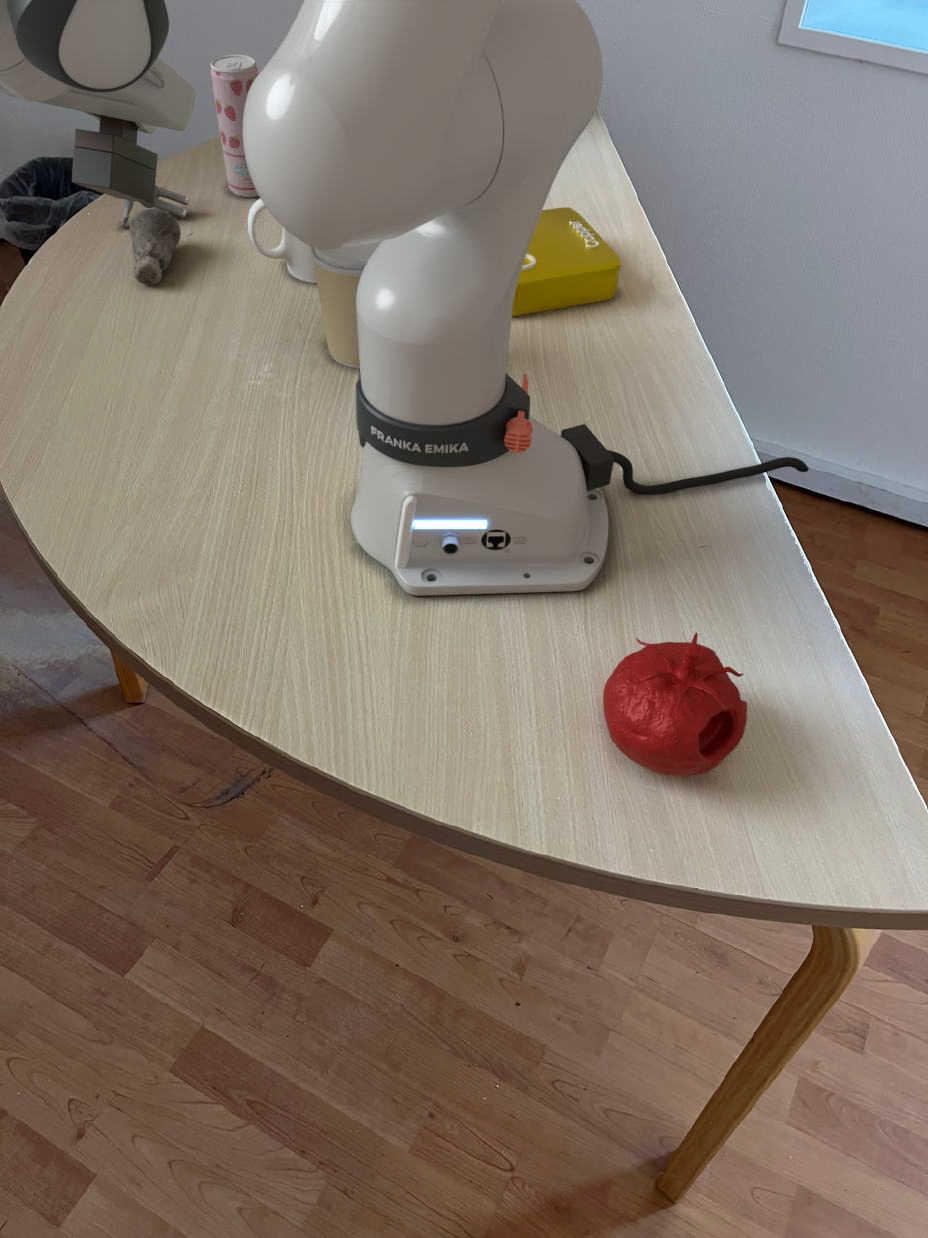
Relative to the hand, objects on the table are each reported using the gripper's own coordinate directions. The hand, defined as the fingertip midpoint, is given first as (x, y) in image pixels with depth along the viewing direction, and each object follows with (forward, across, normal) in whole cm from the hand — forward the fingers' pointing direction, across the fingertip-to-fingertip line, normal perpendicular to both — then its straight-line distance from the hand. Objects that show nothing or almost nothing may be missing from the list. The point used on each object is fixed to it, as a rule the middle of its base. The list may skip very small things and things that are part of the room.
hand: (132, 121), depth 87 cm
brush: (0, 0, +7) cm, 7 cm away
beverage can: (+35, +8, -7) cm, 37 cm away
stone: (+20, +8, +8) cm, 23 cm away
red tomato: (-9, -63, +38) cm, 74 cm away
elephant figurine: (+27, +16, +1) cm, 31 cm away
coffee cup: (+16, -22, +12) cm, 30 cm away
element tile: (+32, -34, -3) cm, 46 cm away
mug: (+24, -8, +4) cm, 26 cm away
